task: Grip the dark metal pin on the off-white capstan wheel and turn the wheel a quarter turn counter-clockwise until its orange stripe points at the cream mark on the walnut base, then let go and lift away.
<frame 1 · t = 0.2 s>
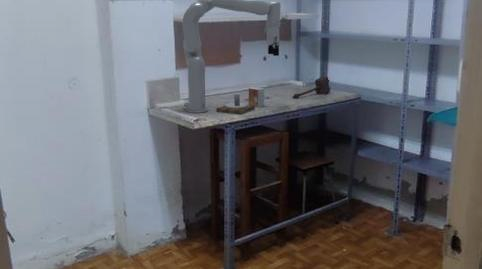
hand: (273, 54, 284), 31 cm above the table, tool pointing down, fingers open, 9 cm apart
small box: (256, 106, 297), on the table
stand base: (235, 110, 284), on the table
capstan wheel: (235, 100, 282), point 6 cm above the table, hinge at 0.0°
hammer: (310, 96, 329), on the table
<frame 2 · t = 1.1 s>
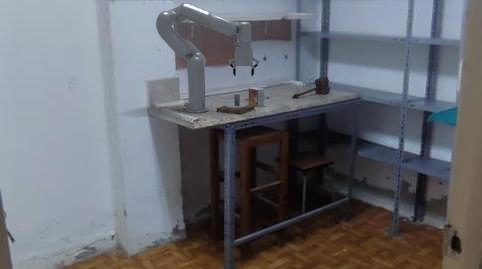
hand: (243, 75, 277), 20 cm above the table, tool pointing down, fingers open, 9 cm apart
nothing on the table moved.
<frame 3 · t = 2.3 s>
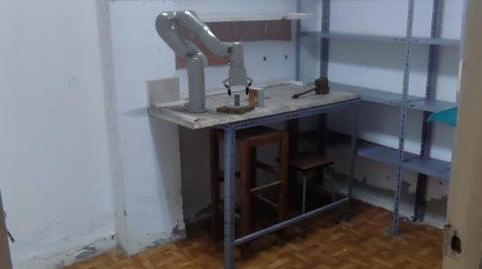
hand: (238, 95, 278), 10 cm above the table, tool pointing down, fingers open, 9 cm apart
nothing on the table moved.
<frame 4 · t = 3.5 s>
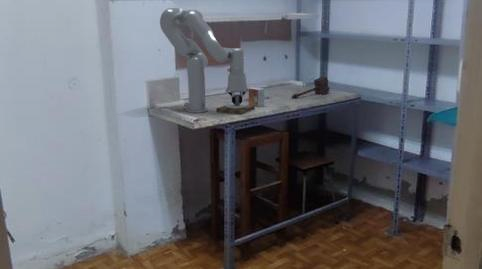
hand: (237, 103, 279), 5 cm above the table, tool pointing down, fingers closed on capstan wheel, 3 cm apart
capstan wheel: (235, 100, 282), point 6 cm above the table, hinge at 0.0°, touching gripper
everything else where it was.
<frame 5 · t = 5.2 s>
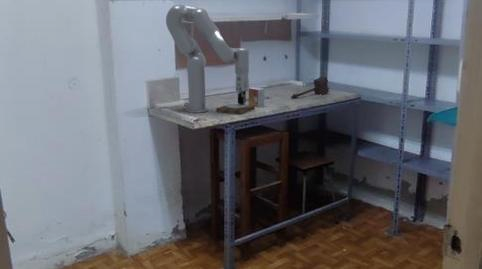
hand: (241, 102, 281), 5 cm above the table, tool pointing down, fingers open, 3 cm apart
capstan wheel: (235, 100, 282), point 6 cm above the table, hinge at 51.7°, touching gripper
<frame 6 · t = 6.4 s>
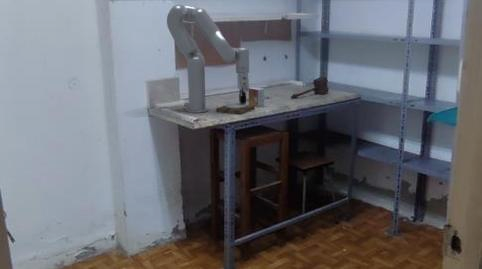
hand: (242, 101, 283), 5 cm above the table, tool pointing down, fingers closed on capstan wheel, 3 cm apart
capstan wheel: (235, 100, 282), point 6 cm above the table, hinge at 87.6°, touching gripper
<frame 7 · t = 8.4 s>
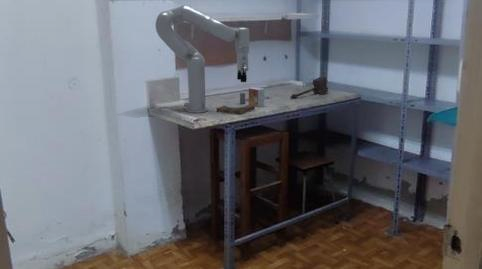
hand: (241, 80, 280), 17 cm above the table, tool pointing down, fingers open, 9 cm apart
capstan wheel: (235, 100, 282), point 6 cm above the table, hinge at 88.1°
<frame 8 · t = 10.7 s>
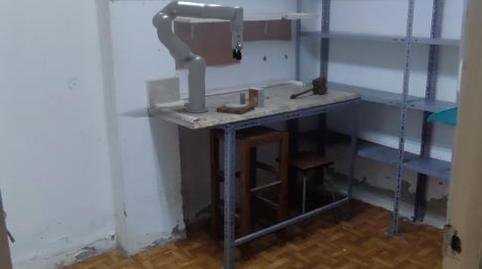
hand: (237, 59, 286), 28 cm above the table, tool pointing down, fingers open, 9 cm apart
at the end: capstan wheel at +88° (first picture: +0°); the gripper is holding nothing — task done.
